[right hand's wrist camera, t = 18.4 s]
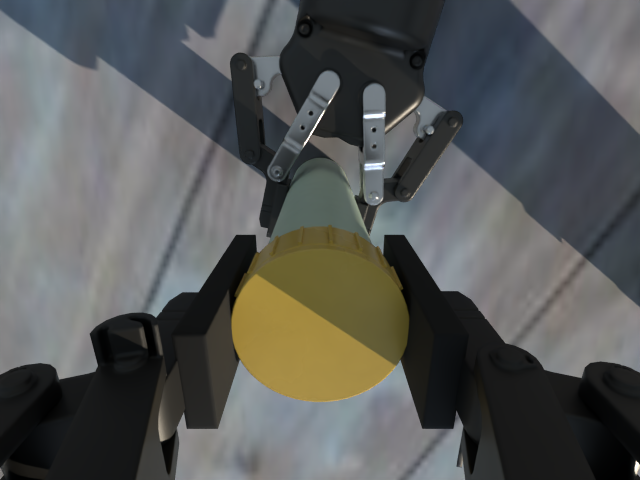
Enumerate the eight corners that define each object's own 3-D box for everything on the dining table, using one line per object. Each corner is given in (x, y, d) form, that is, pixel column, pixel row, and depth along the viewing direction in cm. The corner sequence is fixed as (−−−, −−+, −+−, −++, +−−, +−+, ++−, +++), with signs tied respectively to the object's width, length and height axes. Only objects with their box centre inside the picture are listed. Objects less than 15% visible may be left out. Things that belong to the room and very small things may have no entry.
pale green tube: (347, 157, 28) (398, 247, 10) (347, 211, 30) (390, 376, 12) (291, 158, 28) (239, 251, 10) (293, 212, 30) (252, 378, 12)
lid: (221, 241, 11) (201, 268, 9) (385, 207, 11) (399, 227, 9) (265, 372, 13) (256, 416, 11) (408, 347, 13) (423, 388, 11)
